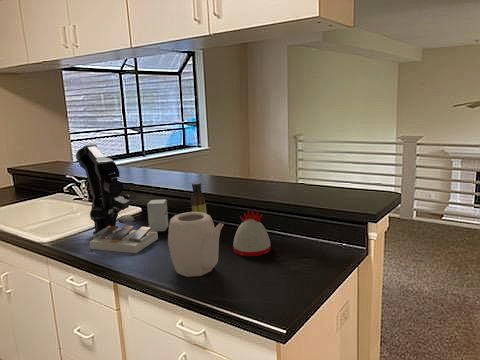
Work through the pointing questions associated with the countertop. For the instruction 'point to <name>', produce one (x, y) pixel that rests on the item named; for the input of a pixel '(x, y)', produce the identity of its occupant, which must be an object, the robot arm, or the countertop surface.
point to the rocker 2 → (123, 232)
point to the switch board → (122, 242)
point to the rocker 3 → (140, 233)
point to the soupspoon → (126, 218)
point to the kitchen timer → (251, 237)
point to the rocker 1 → (106, 231)
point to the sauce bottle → (198, 199)
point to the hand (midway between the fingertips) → (113, 227)
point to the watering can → (193, 243)
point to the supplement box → (157, 215)
